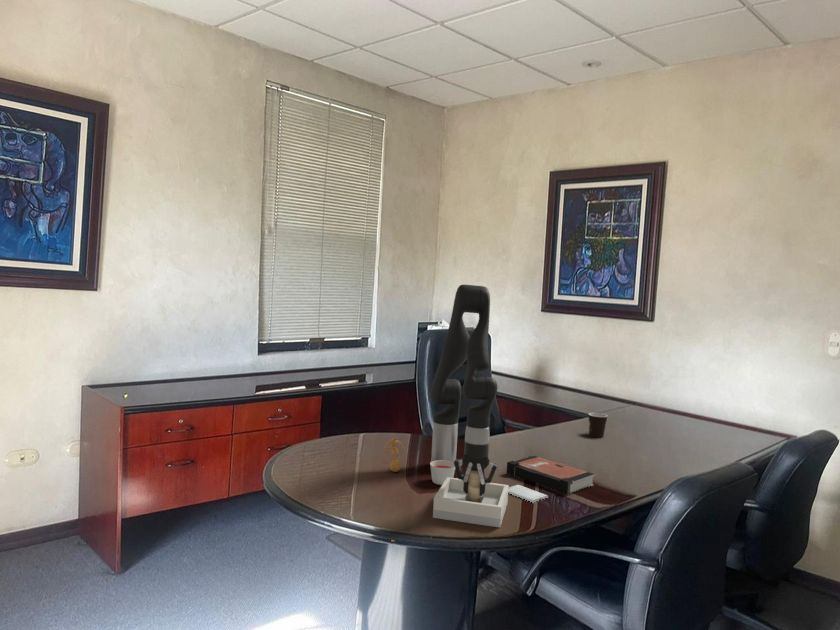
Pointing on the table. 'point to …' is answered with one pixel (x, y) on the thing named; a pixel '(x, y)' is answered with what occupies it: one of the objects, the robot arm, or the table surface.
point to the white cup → (441, 471)
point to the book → (551, 474)
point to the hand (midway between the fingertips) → (473, 493)
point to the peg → (473, 487)
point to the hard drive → (526, 493)
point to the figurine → (394, 465)
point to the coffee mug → (597, 424)
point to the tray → (471, 504)
